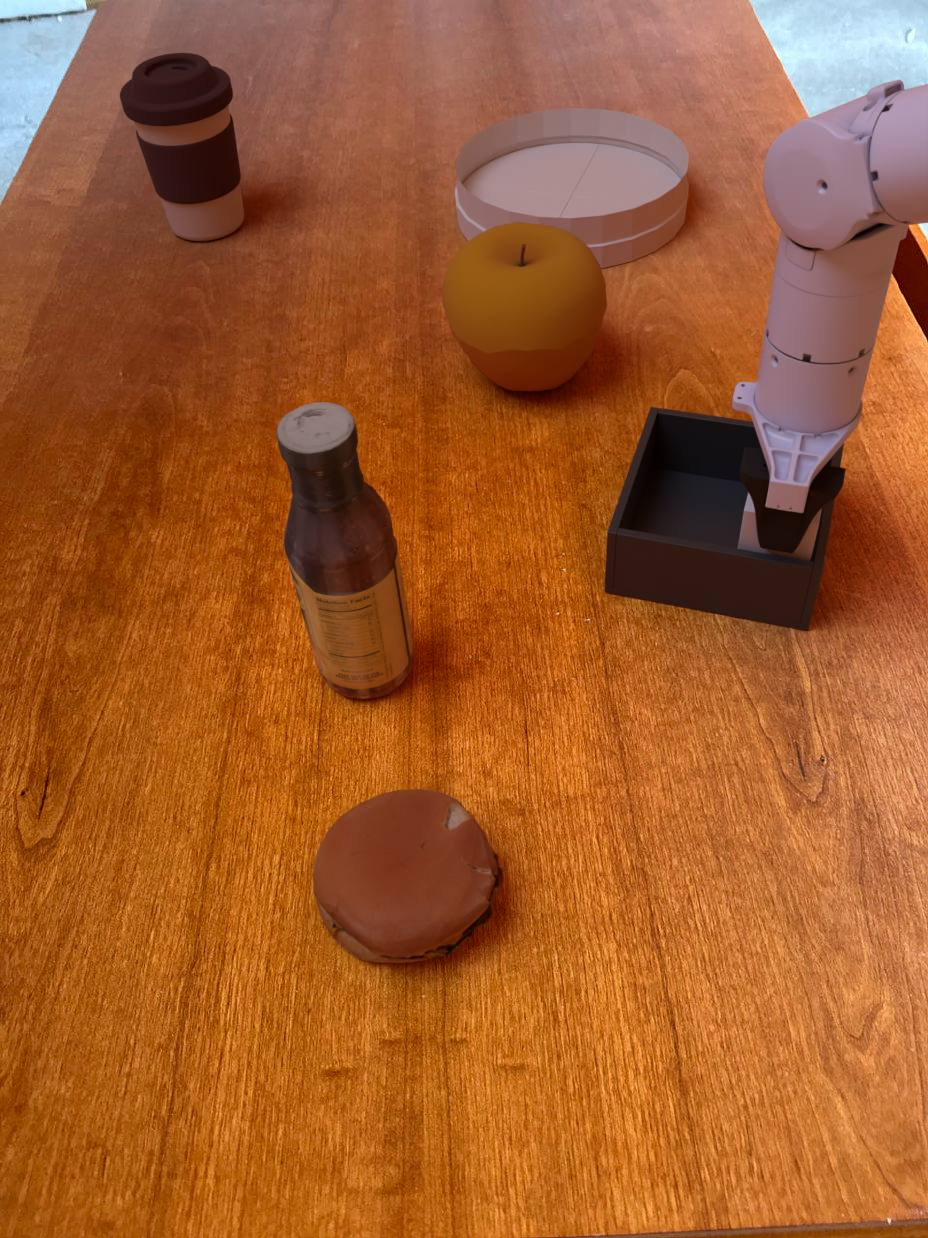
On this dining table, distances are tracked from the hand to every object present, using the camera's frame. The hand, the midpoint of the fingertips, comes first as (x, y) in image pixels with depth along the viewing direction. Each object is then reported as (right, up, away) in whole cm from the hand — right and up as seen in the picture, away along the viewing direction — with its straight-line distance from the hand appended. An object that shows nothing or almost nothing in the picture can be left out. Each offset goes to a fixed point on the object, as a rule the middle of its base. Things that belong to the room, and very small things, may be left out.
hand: (782, 521), depth 71 cm
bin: (-2, -1, +7) cm, 8 cm away
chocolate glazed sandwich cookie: (-23, -21, -9) cm, 32 cm away
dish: (-9, +33, +39) cm, 52 cm away
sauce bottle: (-26, -9, +2) cm, 28 cm away
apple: (-15, +14, +22) cm, 30 cm away
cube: (0, -1, +1) cm, 1 cm away
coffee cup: (-45, +33, +42) cm, 69 cm away
